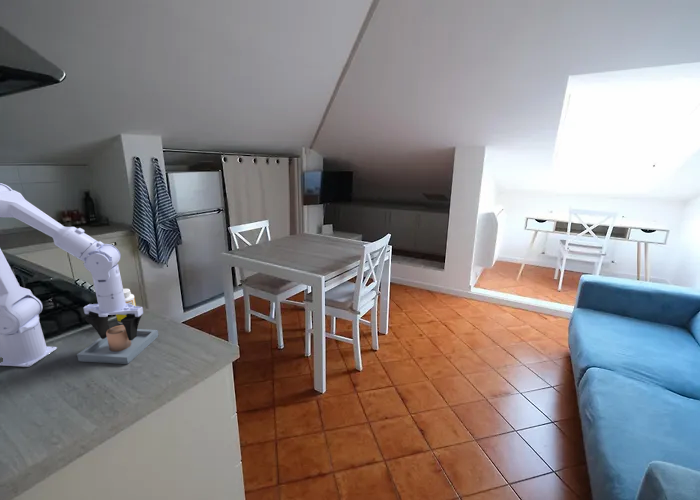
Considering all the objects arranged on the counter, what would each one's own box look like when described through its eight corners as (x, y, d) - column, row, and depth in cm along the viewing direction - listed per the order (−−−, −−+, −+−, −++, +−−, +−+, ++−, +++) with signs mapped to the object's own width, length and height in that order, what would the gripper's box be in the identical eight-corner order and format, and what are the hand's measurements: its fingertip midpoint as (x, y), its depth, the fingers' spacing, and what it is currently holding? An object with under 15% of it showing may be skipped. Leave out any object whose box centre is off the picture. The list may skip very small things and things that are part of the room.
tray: (78, 361, 84) (76, 354, 83) (115, 333, 96) (114, 327, 95) (128, 364, 83) (126, 357, 83) (158, 336, 96) (157, 330, 95)
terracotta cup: (104, 350, 87) (101, 334, 86) (122, 337, 93) (119, 322, 92) (122, 352, 87) (119, 335, 85) (139, 338, 93) (136, 323, 91)
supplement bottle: (125, 315, 106) (119, 286, 103) (142, 316, 106) (137, 287, 103) (112, 324, 101) (106, 294, 97) (131, 325, 101) (125, 295, 97)
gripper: (69, 297, 81) (81, 344, 85) (126, 300, 81) (135, 347, 85) (91, 285, 88) (101, 330, 92) (144, 288, 87) (152, 332, 91)
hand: (119, 337), depth 89 cm, fingers open, 7 cm apart
